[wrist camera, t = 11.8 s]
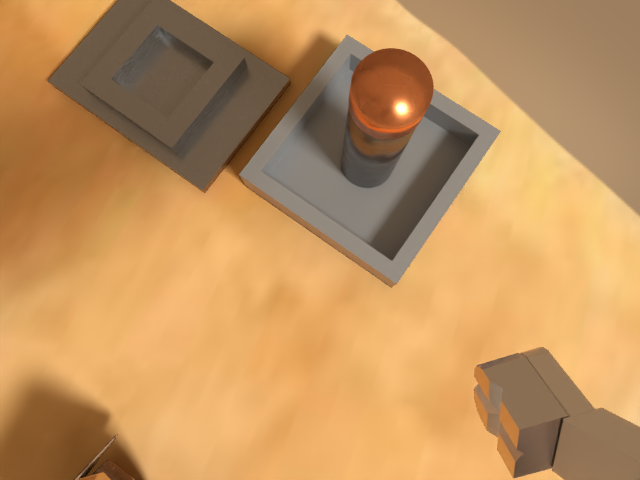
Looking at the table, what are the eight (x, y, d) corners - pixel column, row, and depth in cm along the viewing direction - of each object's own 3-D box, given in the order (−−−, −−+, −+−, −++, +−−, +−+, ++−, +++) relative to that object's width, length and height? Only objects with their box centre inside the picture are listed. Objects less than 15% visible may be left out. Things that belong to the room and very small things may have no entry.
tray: (245, 186, 33) (238, 174, 30) (345, 55, 34) (346, 34, 32) (391, 287, 31) (396, 283, 29) (487, 146, 33) (500, 131, 30)
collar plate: (52, 85, 34) (37, 71, 32) (140, -16, 36) (130, -34, 34) (204, 193, 32) (197, 185, 31) (290, 83, 34) (288, 69, 32)
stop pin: (329, 168, 32) (334, 96, 21) (359, 125, 32) (380, 33, 21) (374, 199, 32) (404, 142, 21) (405, 155, 32) (449, 77, 21)
